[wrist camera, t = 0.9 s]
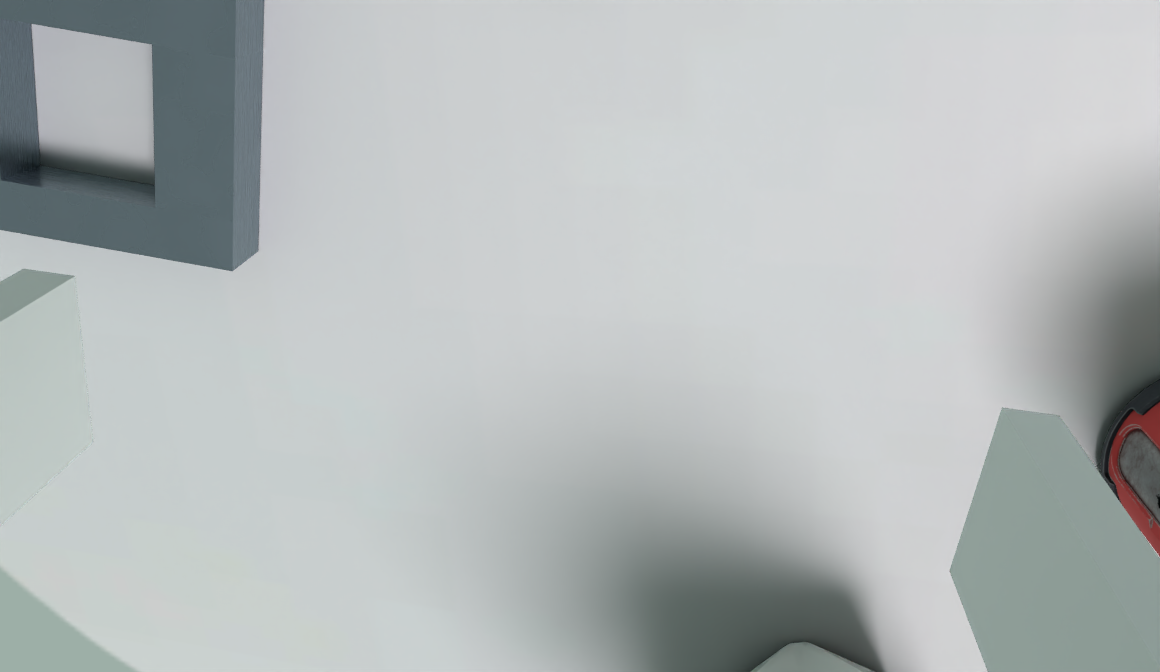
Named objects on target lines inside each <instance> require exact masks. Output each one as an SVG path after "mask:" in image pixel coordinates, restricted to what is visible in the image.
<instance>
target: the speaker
mask: <svg viewBox="0 0 1160 672" xmlns="http://www.w3.org/2000/svg"><path fill="white" fill-rule="evenodd" d="M1101 473H1102V477H1103V479H1104V480H1105V481H1106V483H1107V484H1108V486H1109V487H1110V489H1111V490H1112V491H1113V493H1114V494H1115V496H1116V497H1117V499H1118V500H1119V501H1120V503H1121V504H1122V506H1123V507H1124V508H1125V510H1126V511H1127V513H1128V514H1129V516H1130V517H1131V518H1132V520H1133V521H1134V523H1135V524H1136V525H1137V527H1138V528H1139V530H1140V531H1141V532H1142V533H1143V535H1144V536H1145V537H1146V539H1147V540H1148V541H1149V543H1150V544H1151V545H1152V547H1153V548H1154V549H1155V551H1156V552H1157V553H1158V555H1159V556H1160V380H1158V381H1157V382H1155V383H1153V384H1152V385H1150V386H1149V387H1147V388H1146V389H1144V390H1143V391H1141V393H1139V394H1138V395H1137V396H1136V397H1135V398H1134V399H1132V400H1131V401H1130V402H1129V403H1128V404H1127V405H1126V406H1125V407H1124V408H1123V410H1122V411H1121V412H1120V413H1119V415H1118V416H1117V417H1116V419H1115V420H1114V422H1113V423H1112V425H1111V427H1110V429H1109V431H1108V434H1107V437H1106V439H1105V442H1104V445H1103V449H1102V455H1101Z"/></svg>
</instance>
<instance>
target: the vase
mask: <svg viewBox="0 0 1160 672" xmlns="http://www.w3.org/2000/svg"><path fill="white" fill-rule="evenodd" d="M750 672H875V671H873V670H870V669H868V668H866V667H864V666H862V665H859V664H857V663H855V662H853V661H850V660H848V659H846V658H844V657H841V656H839V655H837V654H834V653H832V652H830V651H828V650H825V649H823V648H821V647H818V646H816V645H813V644H811V643H808V642H800V643H790V644H788V645H786V646H785V647H783V648H782V649H780V650H779V651H778V652H776V653H775V654H773V655H772V656H771V657H769V658H768V659H766V660H765V661H764V662H762V663H761V664H760V665H758V666H757V667H755V668H754V669H753V670H751V671H750Z"/></svg>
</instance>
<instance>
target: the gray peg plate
mask: <svg viewBox="0 0 1160 672" xmlns="http://www.w3.org/2000/svg"><path fill="white" fill-rule="evenodd" d="M31 24H37V25H43V26H48V27H54V28H60V29H66V30H72V31H77V32H83V33H89V34H95V35H101V36H107V37H112V38H118V39H124V40H130V41H136V42H141V43H147V44H152V63H153V114H154V164H155V185H149V184H144V183H138V182H132V181H126V180H121V179H115V178H109V177H104V176H98V175H92V174H87V173H81V172H75V171H70V170H64V169H58V168H53V167H47V166H41V165H40V154H39V139H38V124H37V109H36V94H35V79H34V64H33V49H32V34H31ZM263 24H264V0H0V230H5V231H10V232H16V233H21V234H27V235H33V236H38V237H44V238H49V239H55V240H61V241H66V242H72V243H77V244H83V245H89V246H94V247H100V248H106V249H111V250H117V251H122V252H128V253H134V254H139V255H145V256H150V257H156V258H162V259H167V260H173V261H178V262H184V263H190V264H195V265H201V266H207V267H212V268H218V269H223V270H229V271H233V270H235V269H236V268H237V267H238V266H240V265H241V264H242V263H244V262H245V261H246V260H247V259H249V258H250V257H251V256H253V255H254V254H255V253H256V252H258V237H259V195H260V152H261V110H262V67H263Z"/></svg>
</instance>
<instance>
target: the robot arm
mask: <svg viewBox="0 0 1160 672" xmlns="http://www.w3.org/2000/svg"><path fill="white" fill-rule="evenodd" d="M92 443H93V434H92V425H91V416H90V407H89V398H88V389H87V380H86V371H85V362H84V353H83V343H82V334H81V325H80V316H79V307H78V298H77V289H76V280H75V276H71V275H64V274H57V273H50V272H43V271H36V270H29V269H22V270H21V271H19V272H17V273H15V274H13V275H12V276H10V277H8V278H6V279H4V280H3V281H1V282H0V526H1V525H3V524H4V523H5V522H6V521H7V520H8V519H9V518H10V517H11V516H12V515H14V514H15V513H16V512H17V511H18V510H19V509H20V508H21V507H22V506H23V505H25V504H26V503H27V502H28V501H29V500H30V499H31V498H32V497H33V496H35V495H36V494H37V493H38V492H39V491H40V490H41V489H42V488H43V487H44V486H46V485H47V484H48V483H49V482H50V481H51V480H52V479H53V478H54V477H55V476H57V475H58V474H59V473H60V472H61V471H62V470H63V469H64V468H65V467H66V466H68V465H69V464H70V463H71V462H72V461H73V460H74V459H75V458H76V457H77V456H79V455H80V454H81V453H82V452H83V451H84V450H85V449H86V448H87V447H88V446H90V445H91V444H92ZM950 573H951V576H952V579H953V581H954V584H955V586H956V589H957V592H958V594H959V597H960V600H961V602H962V605H963V607H964V610H965V613H966V615H967V618H968V621H969V623H970V626H971V629H972V631H973V634H974V636H975V639H976V642H977V644H978V647H979V650H980V652H981V655H982V657H983V660H984V663H985V665H986V668H987V671H988V672H1160V558H1159V557H1158V555H1157V554H1156V552H1155V551H1154V550H1153V548H1152V547H1151V545H1150V544H1149V543H1148V541H1147V540H1146V538H1145V537H1144V535H1143V534H1142V533H1141V531H1140V530H1139V528H1138V527H1137V525H1136V524H1135V523H1134V521H1133V520H1132V518H1131V517H1130V516H1129V514H1128V513H1127V511H1126V510H1125V508H1124V507H1123V506H1122V504H1121V503H1120V501H1119V500H1118V499H1117V497H1116V496H1115V494H1114V493H1113V491H1112V490H1111V489H1110V487H1109V486H1108V484H1107V483H1106V481H1105V480H1104V479H1103V477H1102V476H1101V474H1100V473H1099V472H1098V470H1097V469H1096V467H1095V466H1094V464H1093V463H1092V462H1091V460H1090V459H1089V457H1088V456H1087V455H1086V453H1085V452H1084V450H1083V449H1082V447H1081V446H1080V445H1079V443H1078V442H1077V440H1076V439H1075V438H1074V436H1073V435H1072V433H1071V432H1070V430H1069V429H1068V428H1067V426H1066V425H1065V423H1064V422H1063V420H1062V419H1061V418H1060V416H1058V415H1051V414H1044V413H1037V412H1030V411H1023V410H1016V409H1009V408H1002V410H1001V413H1000V416H999V419H998V422H997V425H996V428H995V431H994V434H993V438H992V441H991V444H990V447H989V450H988V453H987V456H986V459H985V462H984V466H983V469H982V472H981V475H980V478H979V481H978V484H977V487H976V490H975V494H974V497H973V500H972V503H971V506H970V509H969V512H968V515H967V518H966V522H965V525H964V528H963V531H962V534H961V537H960V540H959V543H958V546H957V550H956V553H955V556H954V559H953V562H952V565H951V568H950Z"/></svg>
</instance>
